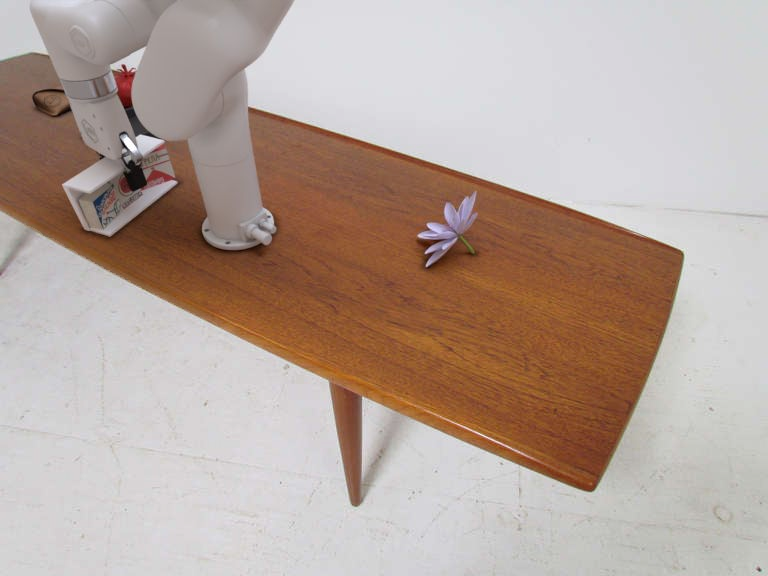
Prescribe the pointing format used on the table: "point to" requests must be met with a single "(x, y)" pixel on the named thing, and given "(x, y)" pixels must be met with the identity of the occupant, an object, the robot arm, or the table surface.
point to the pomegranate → (125, 85)
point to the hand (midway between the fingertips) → (127, 180)
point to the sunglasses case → (52, 100)
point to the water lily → (450, 228)
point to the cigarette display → (119, 188)
